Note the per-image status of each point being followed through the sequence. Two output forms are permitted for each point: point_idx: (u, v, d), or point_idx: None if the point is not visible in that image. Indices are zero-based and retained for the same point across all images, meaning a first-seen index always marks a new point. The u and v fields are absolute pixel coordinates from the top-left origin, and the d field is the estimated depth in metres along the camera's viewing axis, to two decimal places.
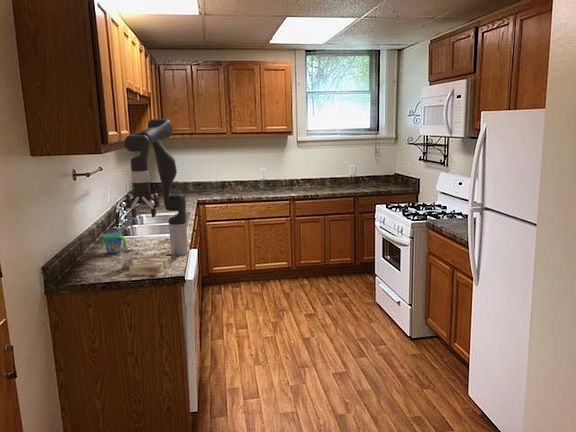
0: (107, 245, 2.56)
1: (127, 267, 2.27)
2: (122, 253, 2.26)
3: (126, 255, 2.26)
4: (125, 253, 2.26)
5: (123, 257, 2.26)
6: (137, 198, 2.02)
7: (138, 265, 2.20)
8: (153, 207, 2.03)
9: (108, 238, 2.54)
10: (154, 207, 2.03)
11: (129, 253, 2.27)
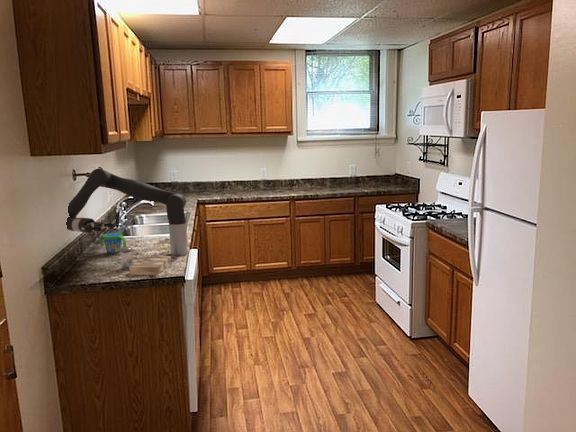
0: (107, 245, 2.56)
1: (127, 267, 2.27)
2: (122, 253, 2.26)
3: (126, 255, 2.26)
4: (125, 253, 2.26)
5: (123, 257, 2.26)
6: None
7: (138, 265, 2.20)
8: (92, 231, 2.28)
9: (108, 238, 2.54)
10: (92, 230, 2.27)
11: (129, 253, 2.27)
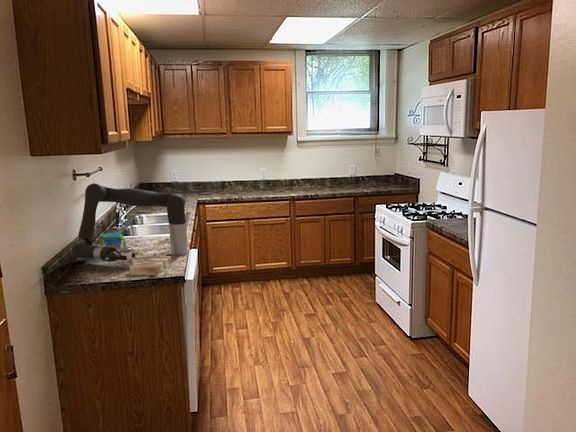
0: (107, 245, 2.56)
1: (127, 267, 2.27)
2: (122, 253, 2.26)
3: (126, 255, 2.26)
4: (125, 253, 2.26)
5: None
6: None
7: (138, 265, 2.20)
8: None
9: (108, 238, 2.54)
10: (117, 259, 2.26)
11: (129, 253, 2.27)
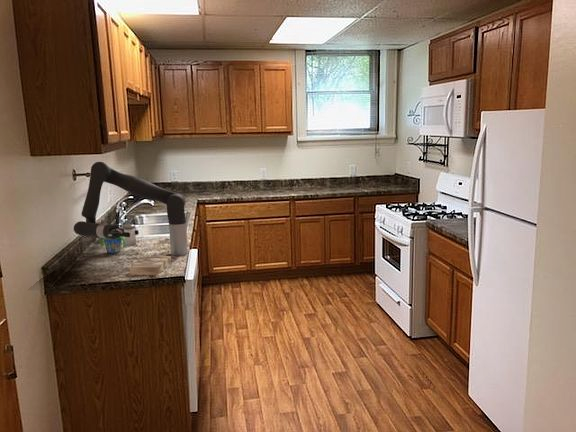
0: (107, 245, 2.56)
1: (130, 244, 2.24)
2: (125, 230, 2.23)
3: (129, 232, 2.23)
4: (128, 230, 2.23)
5: None
6: None
7: (138, 265, 2.20)
8: None
9: None
10: (121, 236, 2.23)
11: (132, 230, 2.24)
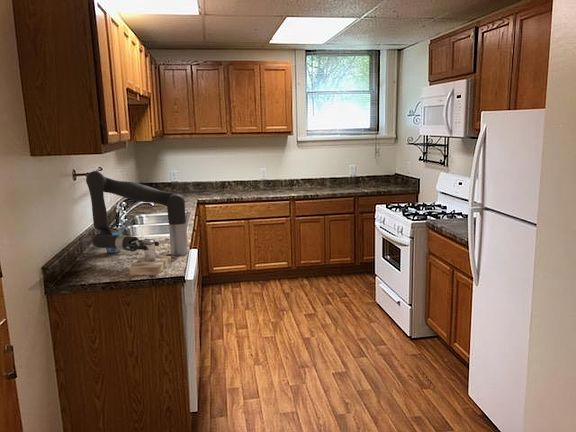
0: None
1: (150, 260, 2.23)
2: None
3: (149, 247, 2.22)
4: (148, 245, 2.22)
5: None
6: None
7: (138, 265, 2.20)
8: None
9: None
10: (137, 249, 2.21)
11: (152, 245, 2.23)
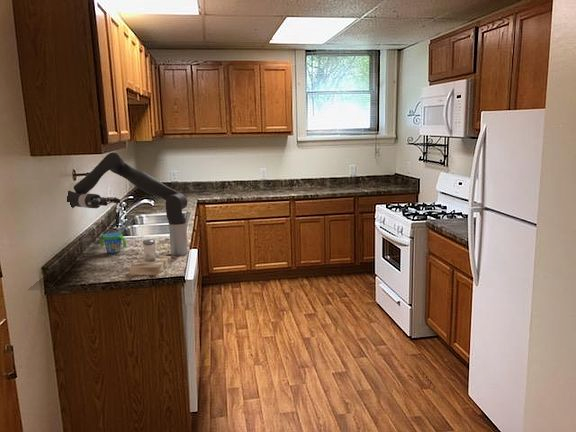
0: (107, 245, 2.56)
1: (150, 260, 2.23)
2: (145, 245, 2.22)
3: (149, 247, 2.22)
4: (148, 245, 2.22)
5: (146, 249, 2.22)
6: None
7: (138, 265, 2.20)
8: (99, 205, 2.30)
9: (108, 238, 2.54)
10: (98, 204, 2.30)
11: (152, 245, 2.23)
